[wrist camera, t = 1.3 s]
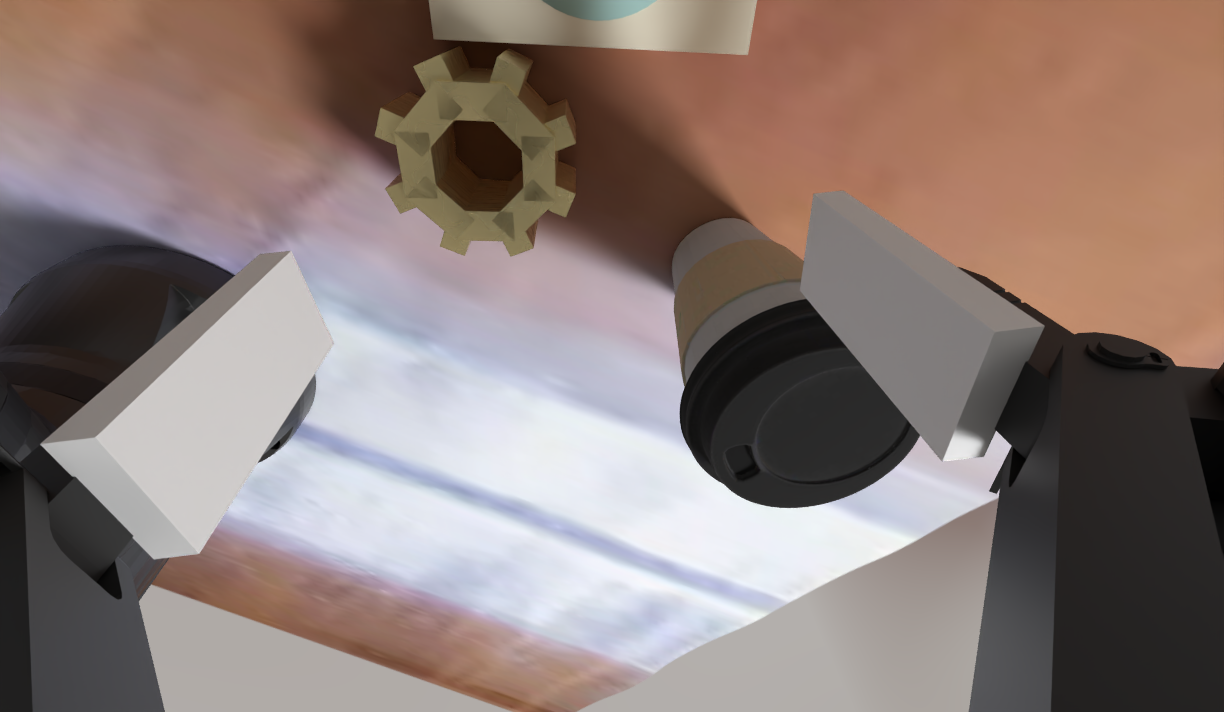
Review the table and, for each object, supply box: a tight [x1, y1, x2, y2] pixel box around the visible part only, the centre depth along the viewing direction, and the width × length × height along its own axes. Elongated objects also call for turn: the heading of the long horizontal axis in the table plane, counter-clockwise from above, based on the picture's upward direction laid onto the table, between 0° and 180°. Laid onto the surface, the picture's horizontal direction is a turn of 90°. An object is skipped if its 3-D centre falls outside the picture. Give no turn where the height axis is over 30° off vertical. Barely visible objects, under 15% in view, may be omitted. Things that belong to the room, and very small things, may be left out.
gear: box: [375, 46, 576, 256], centre depth 24 cm, size 8×8×5 cm
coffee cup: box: [672, 218, 920, 508], centre depth 25 cm, size 9×9×15 cm
